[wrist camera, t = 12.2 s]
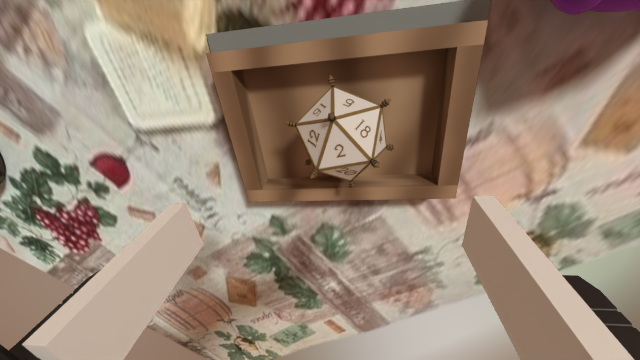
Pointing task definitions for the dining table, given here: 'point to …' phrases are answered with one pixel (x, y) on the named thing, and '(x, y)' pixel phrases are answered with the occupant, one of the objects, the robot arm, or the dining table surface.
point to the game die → (343, 133)
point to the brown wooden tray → (365, 81)
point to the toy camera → (596, 5)
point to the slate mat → (352, 25)
